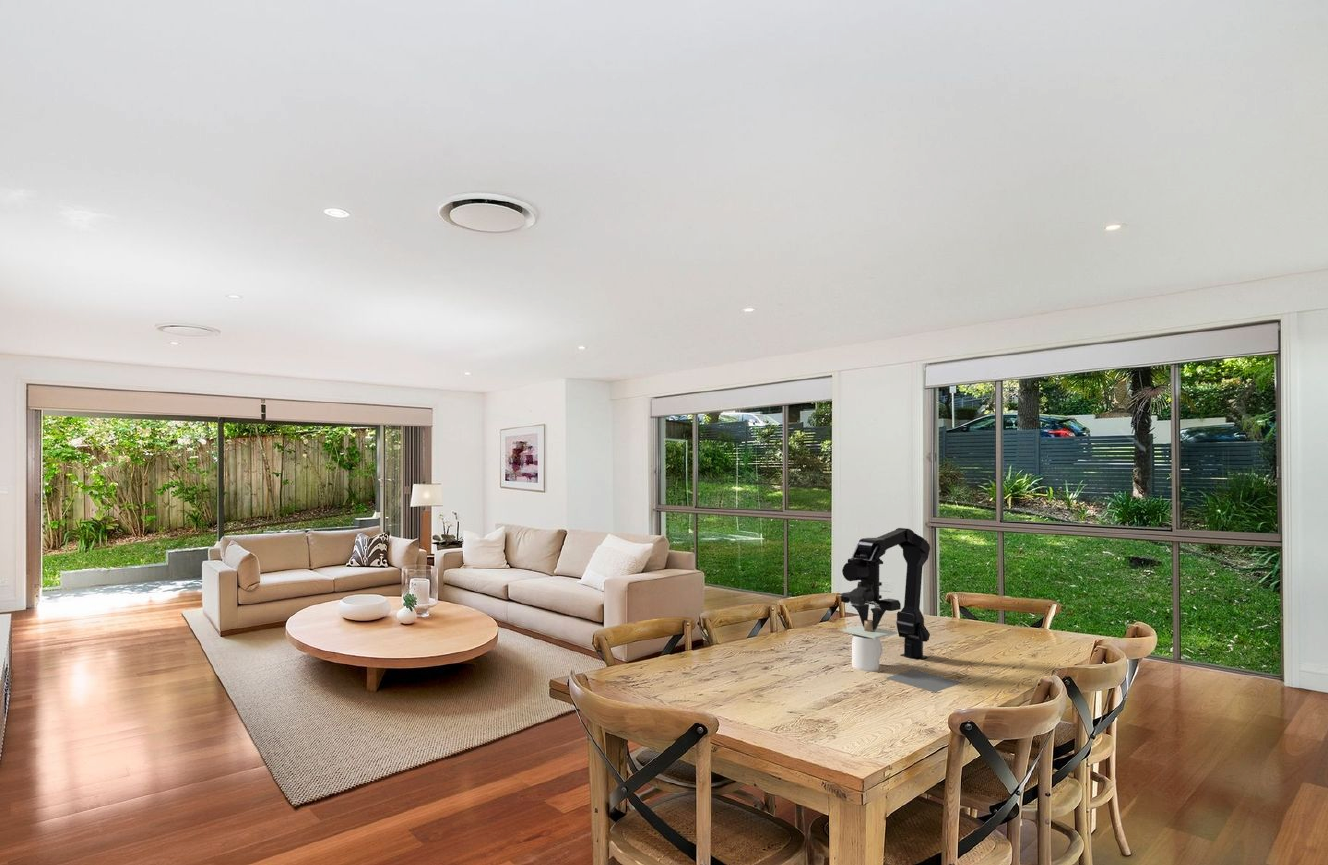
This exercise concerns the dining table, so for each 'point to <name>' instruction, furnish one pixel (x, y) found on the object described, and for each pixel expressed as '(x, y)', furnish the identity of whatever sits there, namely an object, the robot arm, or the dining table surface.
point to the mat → (924, 680)
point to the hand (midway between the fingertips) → (869, 628)
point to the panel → (869, 630)
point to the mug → (866, 653)
